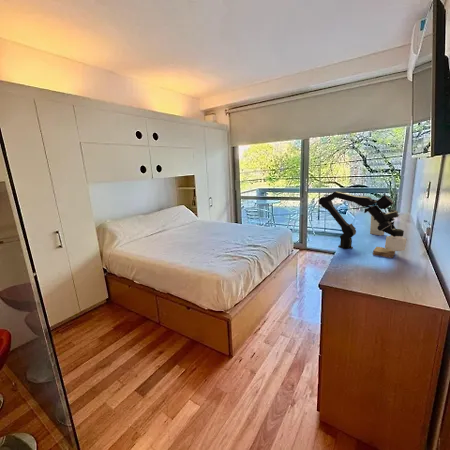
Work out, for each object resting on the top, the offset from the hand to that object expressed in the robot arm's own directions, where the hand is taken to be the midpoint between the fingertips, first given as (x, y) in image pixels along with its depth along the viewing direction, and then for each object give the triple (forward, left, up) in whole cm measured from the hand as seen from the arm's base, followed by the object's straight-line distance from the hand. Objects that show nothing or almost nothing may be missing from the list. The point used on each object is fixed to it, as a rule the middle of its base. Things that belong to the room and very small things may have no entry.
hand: (396, 235), depth 143 cm
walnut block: (-2, +4, -13) cm, 14 cm away
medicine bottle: (0, 0, -9) cm, 9 cm away
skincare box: (+32, +38, -13) cm, 51 cm away
